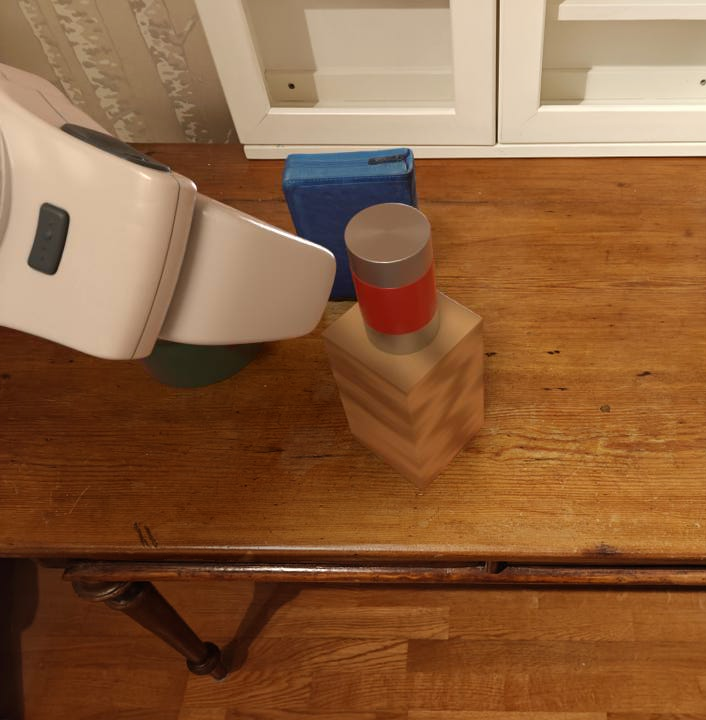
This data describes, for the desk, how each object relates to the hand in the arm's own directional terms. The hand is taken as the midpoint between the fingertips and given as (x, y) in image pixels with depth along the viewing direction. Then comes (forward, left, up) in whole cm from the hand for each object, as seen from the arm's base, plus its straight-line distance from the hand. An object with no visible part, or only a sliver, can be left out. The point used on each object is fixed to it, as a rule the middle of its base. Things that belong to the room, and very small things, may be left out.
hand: (236, 229), depth 37 cm
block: (+12, +2, -39) cm, 41 cm away
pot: (+6, +31, -39) cm, 50 cm away
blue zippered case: (+24, +20, -39) cm, 50 cm away
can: (+12, +2, -21) cm, 24 cm away
